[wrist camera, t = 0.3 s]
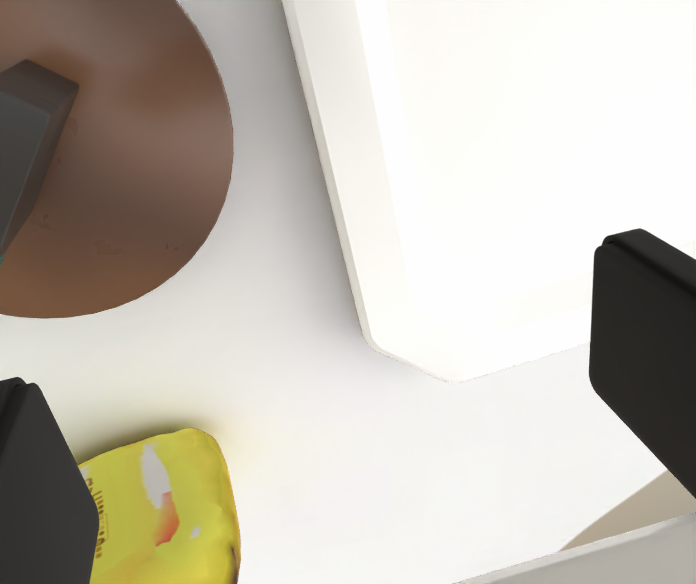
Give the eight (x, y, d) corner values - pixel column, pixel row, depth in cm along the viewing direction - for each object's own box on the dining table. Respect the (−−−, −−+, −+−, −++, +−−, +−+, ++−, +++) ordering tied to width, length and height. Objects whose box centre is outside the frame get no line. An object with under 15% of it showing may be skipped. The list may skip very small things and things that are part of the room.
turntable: (-145, -203, 18) (-282, -273, 13) (296, 51, 23) (325, 75, 18) (-247, 224, 22) (-379, 301, 17) (146, 354, 27) (135, 442, 22)
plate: (802, 251, 35) (837, 268, 33) (371, 385, 32) (382, 411, 31) (899, -360, 23) (966, -391, 21) (224, -210, 20) (227, -228, 18)
